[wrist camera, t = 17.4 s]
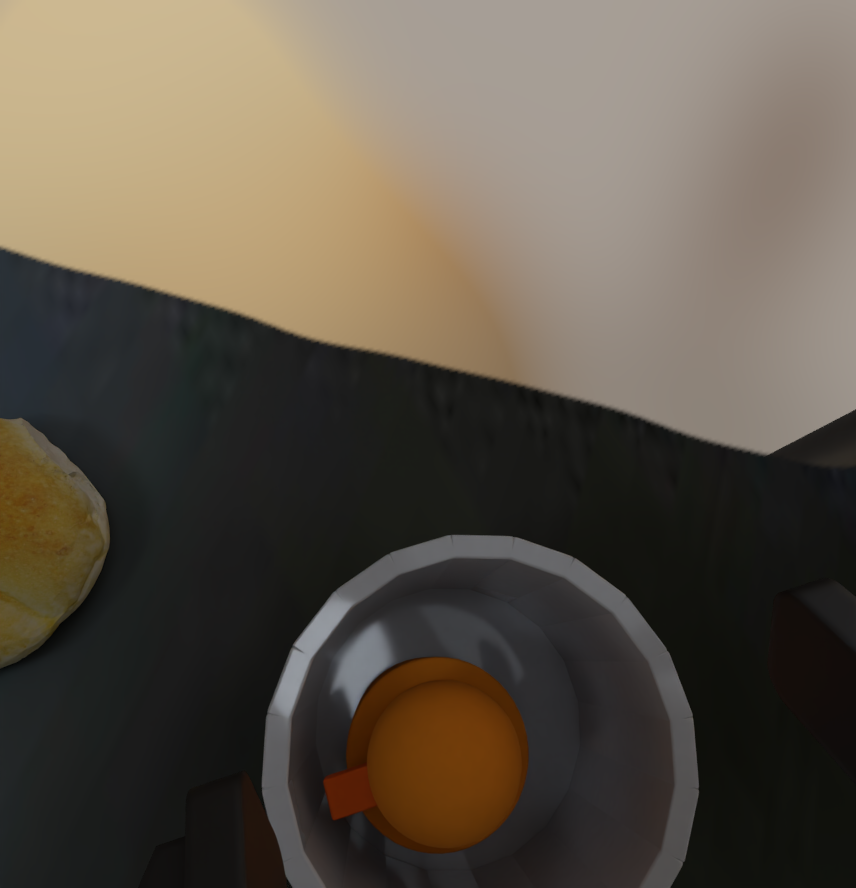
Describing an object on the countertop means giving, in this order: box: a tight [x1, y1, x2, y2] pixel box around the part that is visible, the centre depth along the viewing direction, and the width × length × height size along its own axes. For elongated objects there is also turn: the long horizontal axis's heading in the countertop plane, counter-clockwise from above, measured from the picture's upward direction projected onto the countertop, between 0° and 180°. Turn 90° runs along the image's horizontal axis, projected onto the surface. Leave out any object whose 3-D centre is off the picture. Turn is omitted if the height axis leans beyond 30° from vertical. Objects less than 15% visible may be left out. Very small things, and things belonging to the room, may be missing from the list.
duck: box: [323, 657, 529, 854], centre depth 21 cm, size 6×5×8 cm
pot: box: [261, 535, 699, 888], centre depth 22 cm, size 10×10×9 cm
